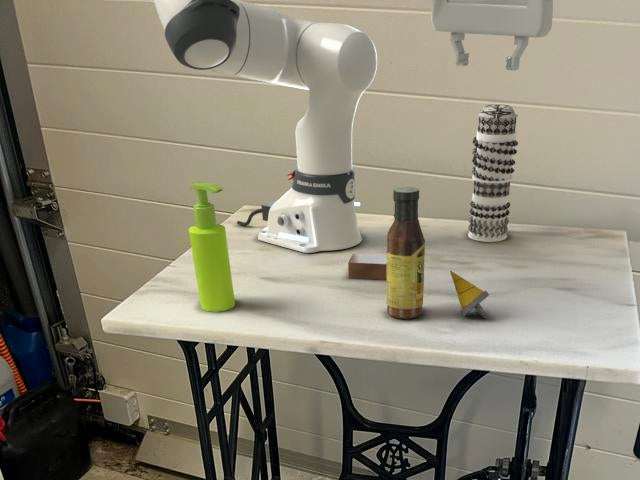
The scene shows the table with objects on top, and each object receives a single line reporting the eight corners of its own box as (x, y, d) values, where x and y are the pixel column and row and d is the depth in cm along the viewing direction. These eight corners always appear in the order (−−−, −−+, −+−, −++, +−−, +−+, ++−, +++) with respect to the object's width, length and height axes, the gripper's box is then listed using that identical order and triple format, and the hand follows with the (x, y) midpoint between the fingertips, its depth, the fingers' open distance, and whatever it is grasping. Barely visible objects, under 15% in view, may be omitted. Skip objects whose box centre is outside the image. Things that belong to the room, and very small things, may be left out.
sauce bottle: (424, 320, 122) (429, 194, 110) (387, 320, 122) (388, 195, 110) (421, 305, 127) (425, 184, 115) (385, 306, 127) (385, 184, 115)
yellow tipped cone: (474, 328, 121) (437, 279, 120) (473, 329, 126) (438, 282, 125) (500, 307, 120) (463, 258, 118) (498, 309, 125) (462, 262, 124)
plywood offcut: (348, 278, 138) (348, 262, 136) (352, 269, 142) (352, 253, 140) (390, 280, 137) (390, 264, 135) (393, 271, 141) (393, 255, 139)
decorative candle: (482, 245, 154) (493, 111, 139) (458, 233, 160) (465, 104, 145) (517, 238, 157) (531, 107, 142) (491, 227, 164) (503, 101, 149)
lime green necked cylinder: (223, 315, 124) (206, 190, 112) (193, 307, 127) (173, 184, 115) (246, 304, 128) (231, 182, 116) (216, 296, 131) (199, 177, 119)
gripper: (566, -38, 108) (553, 70, 116) (449, -39, 117) (445, 61, 126) (547, -38, 104) (535, 74, 112) (427, -39, 113) (424, 65, 122)
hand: (486, 67), depth 119 cm, fingers open, 8 cm apart
